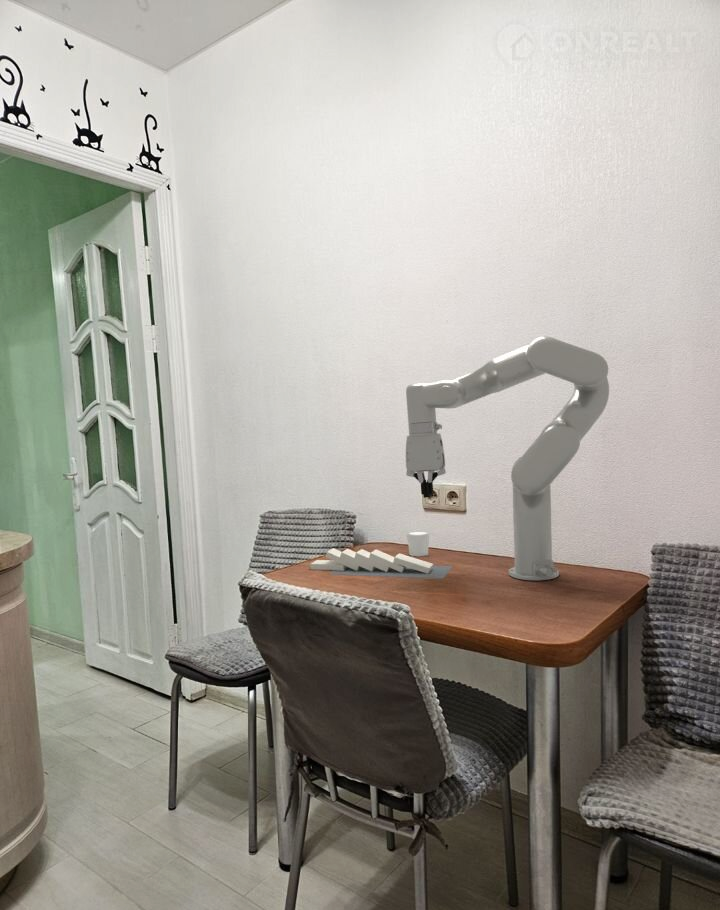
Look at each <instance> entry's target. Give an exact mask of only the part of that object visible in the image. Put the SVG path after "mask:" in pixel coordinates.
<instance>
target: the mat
mask: <svg viewBox="0 0 720 910" xmlns="http://www.w3.org/2000/svg"><path fill="white" fill-rule="evenodd" d="M453 567H454V566H453V565H433V567H432V570H431V571H430V572H429V573H428V574H427V573H424V572H421V571H418V570H415V569H411V568H408V567H407V568H406V569H405V570H404V571H403V572H402V573H401V572H399V571H397V570H395V569H392V568H391V569H390V570H389V571H388V572H385V571H383V570H381V569H378V568H376V569H374V570H373V571H369V570H367V569H365V568H362V567H361V568H360V569H359V570H357V571H356V570H354V569H351V568H349V567H348V568H346V569H345V570H344V571H343V570H331V572H329V573H328V575H334V576H335V575H338V576H362V577H363V576H364V577H383V578H384V577H386V578H387V577H388V578H414V579H434V580H438V579H439V580H444V579H445V577H446V576H447V575H448V573H449V572H450V570H452V568H453Z"/></svg>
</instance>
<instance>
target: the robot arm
mask: <svg viewBox="0 0 720 910" xmlns="http://www.w3.org/2000/svg"><path fill="white" fill-rule="evenodd" d="M545 374H547V375H550V376H553V377H555V378H557V379H561V380H564V381H567V382H569V383H572V384H574V385H573V387H574V391H573V393H572V396H571V397H570V398H569V400H568V401H567V402H566V404H565V405H564V406H563V407H562V409H561V410H560V411H559V412H558V414H557V415H555V417H554V418H553V420H551V422H549V423H548V424H547V425H546V426H545V427H544V428H543V429H542V431H541V433H540V434H539V436H538V437H537V438H536V439H535V440H534V442H532V444H531V445H530V447H528V448H527V450H526V451H525V452H524V454H523V455H521V456H520V457H519V458H517V459H516V460H515V462H514V463H513V465H512V468H511V471H510V472H511V473H510V474H511V475H510V478H511V482H512V510H513V514H512V515H513V516H512V517H513V522H512V523H513V550H514V556H513V557H514V566H513V567H511V568H509V569H508V575H509V576H510V577H512V578H514V579H516V580H517V579H518V580H523V581H547V580H554V579H556V578H557V577H559V574H560V573H559V572H560V571H559V570H558V568H557V567H555V566H554V560H553V547H552V543H553V542H552V539H553V537H552V502H551V501H552V496H551V495H552V493H551V484H552V483H553V482H554V480H555V479H556V478H557V477H558V476H559V475H560V474H561V473H562V471H563V470H565V467H567V465H568V464H570V463H571V461H572V459H574V457H575V456H576V454H577V452H578V451H579V449H580V446H581V445H580V444H581V441H582V440H583V438H584V437H585V436H586V434H588V432H589V431H590V430H591V429H592V427H593V426H594V424H595V423H596V422H597V421H598V419H599V418H600V417H601V415H602V414H603V413H604V411H605V409H606V407H607V406H608V405H607V404H608V402H609V395H610V383H609V379H608V374H609V365H608V362H607V360H606V359H605V358H604V357H603V356H602V355H600V354H599V353H597V352H595V351H591V350H588V349H586V348H583V347H579V346H577V345H574V344H571V343H568V342H565V341H562V340H561V339H558V338H554V337H551V336H540V337H537V338H535V339H534V340H532V341H531V342H530V343H528V344H527V345H523V346H521V347H519V348H517V349H514V350H512V351H510V352H507V353H503V354H502V355H500V356H497V357H494V358H492V359H491V360H489V361H487V362H486V363H485V364H484V365H482V366H481V367H480V368H478V369H476V370H474V371H471V372H470V373H467V374H465V375H462V376H460V377H457V378H455V379H452V380H451V379H444V380H439V381H435V382H431V383H430V382H420V383H412V384H409V385H407V386H406V389H405V395H406V407H407V423H408V424H407V426H408V435H407V436H406V441H405V443H406V444H405V468H406V476H407V477H411V478H414V479H415V480H417V481H418V482H419V483H420V491H421V495H422V497H423V499H425V498H426V499H427V498H428V499H430V498H431V497H432V495H434V481H435V480H436V478H437V477H439V476H443V475H446V474H447V472H446V468H445V467H446V459H445V450H444V444H443V439H442V435H441V433H440V432H439V433H438V431H439V430H442V428H443V424H442V423H438V421H437V414H436V412H437V411H436V409H447V410H450V409H457V408H459V407H462V406H465V405H466V404H469V403H471V402H474V401H477V400H479V399H482V398H485V397H488V396H490V395H492V394H495V393H499V392H502V391H504V390H507V389H509V388H512V387H515V386H516V385H519V384H523V383H525V382H527V381H530V380H532V379H535V378H537V377H539V376H540V377H541V376H542V375H545ZM425 472H427V479H426V476H425Z"/></svg>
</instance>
